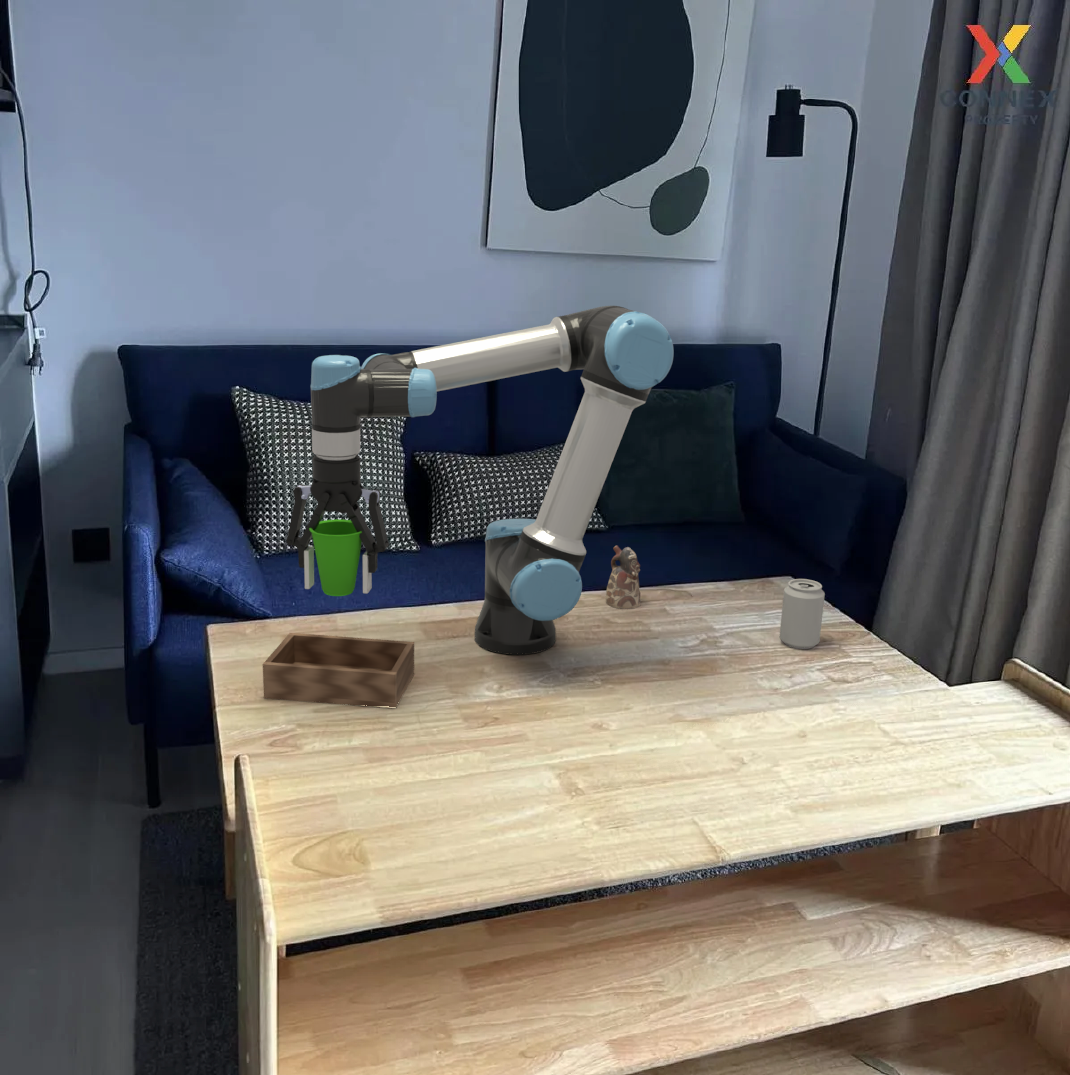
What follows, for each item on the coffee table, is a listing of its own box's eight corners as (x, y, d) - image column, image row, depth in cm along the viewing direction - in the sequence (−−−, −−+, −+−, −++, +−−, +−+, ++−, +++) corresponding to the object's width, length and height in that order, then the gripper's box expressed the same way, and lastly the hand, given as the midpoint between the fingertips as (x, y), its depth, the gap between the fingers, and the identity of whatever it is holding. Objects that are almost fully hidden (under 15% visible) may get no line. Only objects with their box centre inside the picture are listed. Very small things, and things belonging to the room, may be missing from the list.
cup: (355, 603, 189) (354, 537, 186) (301, 597, 190) (300, 532, 187) (373, 585, 197) (373, 522, 194) (322, 579, 199) (321, 517, 196)
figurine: (629, 611, 237) (633, 554, 233) (599, 604, 241) (602, 548, 237) (646, 601, 243) (650, 546, 239) (616, 594, 246) (619, 539, 243)
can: (822, 640, 225) (829, 580, 222) (814, 653, 219) (821, 592, 215) (784, 632, 228) (790, 574, 225) (774, 645, 222) (780, 585, 218)
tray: (414, 674, 204) (414, 641, 203) (395, 708, 191) (395, 674, 189) (291, 664, 207) (289, 632, 205) (263, 697, 193) (262, 664, 192)
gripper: (408, 453, 190) (408, 585, 196) (277, 445, 192) (281, 576, 198) (398, 464, 182) (398, 601, 189) (262, 455, 185) (266, 591, 191)
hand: (338, 588), depth 194 cm, fingers closed on cup, 9 cm apart
